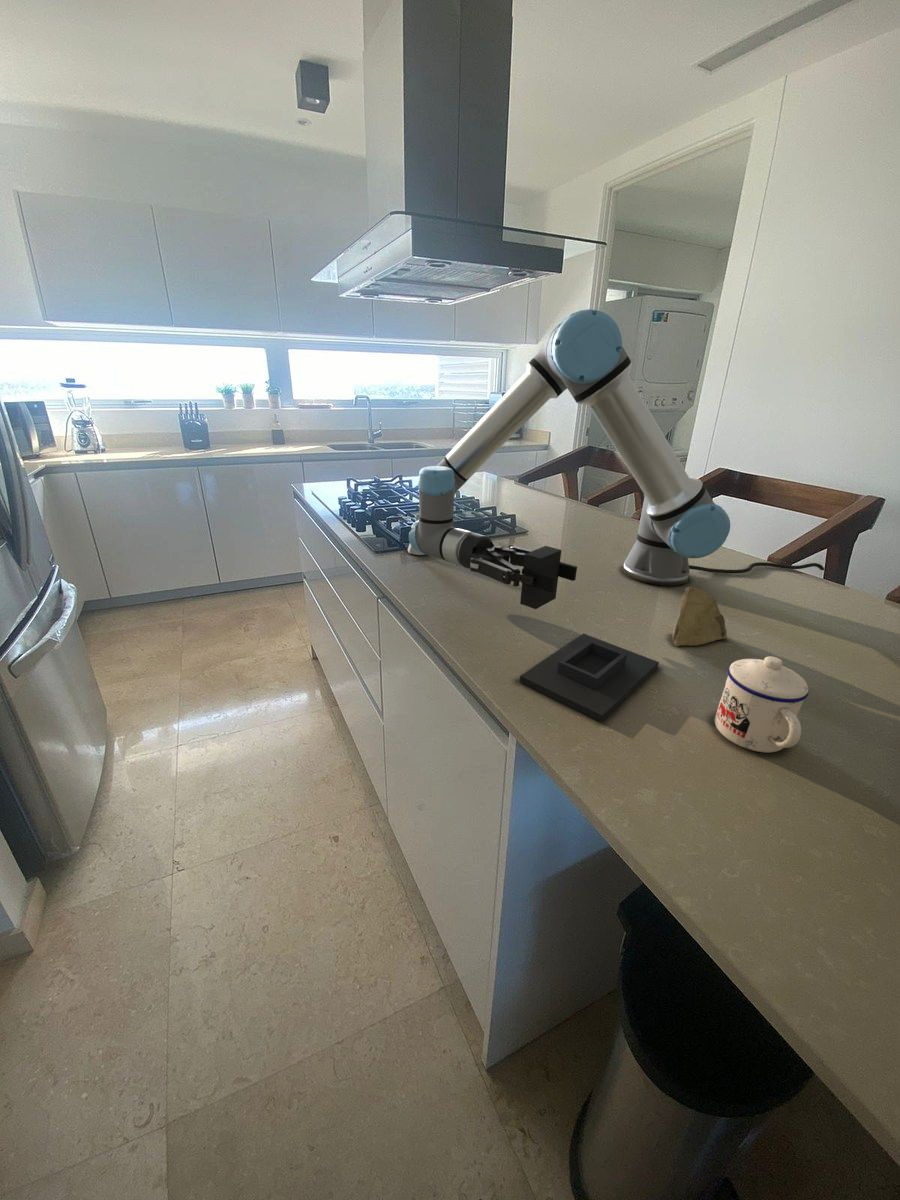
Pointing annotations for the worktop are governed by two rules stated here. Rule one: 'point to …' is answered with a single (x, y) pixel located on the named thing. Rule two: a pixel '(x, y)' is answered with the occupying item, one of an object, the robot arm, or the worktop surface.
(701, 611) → the rock
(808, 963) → the worktop surface
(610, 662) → the base pad
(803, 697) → the teacup with lid
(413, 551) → the flask
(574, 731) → the worktop surface
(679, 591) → the worktop surface
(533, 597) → the black block
